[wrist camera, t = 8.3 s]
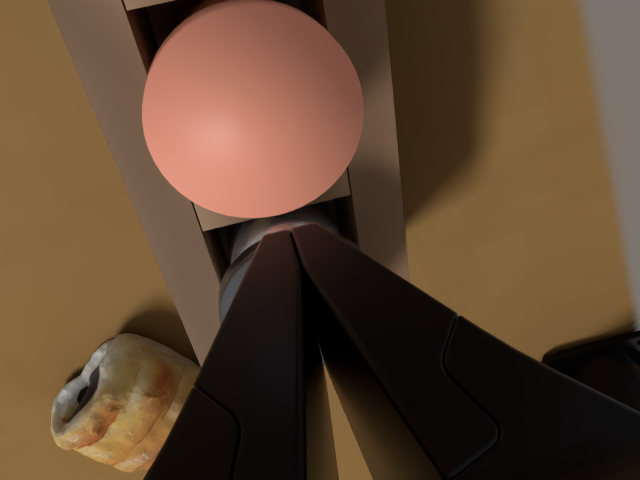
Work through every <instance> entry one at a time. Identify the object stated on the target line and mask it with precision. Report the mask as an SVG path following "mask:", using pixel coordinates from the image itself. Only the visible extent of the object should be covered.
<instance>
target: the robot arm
mask: <svg viewBox="0 0 640 480" xmlns="http://www.w3.org/2000/svg"><path fill="white" fill-rule="evenodd" d="M319 346H320V347H319ZM320 350H321V351H320ZM321 353H322V356H321ZM322 357H323V360H324V363H325V366H326V368H327V371H328V374H329V376H330V379H331V381H332V383H333V386H334V388H335V390H336V393H337V395H338V398H339V400H340V402H341V405H342V407H343V409H344V412H345V414H346V416H347V419H348V421H349V424H350V426H351V428H352V431H353V433H354V435H355V438H356V440H357V442H358V445H359V447H360V450H361V452H362V454H363V457H364V459H365V461H366V464H367V466H368V468H369V471H370V473H371V476H372V478H373V480H640V331H636V332H632V333H629V334H625V335H622V336H618V337H614V338H611V339H607V340H604V341H600V342H596V343H593V344H589V345H586V346H582V347H578V348H575V349H571V350H568V351H564V352H560V353H557V354H553V355H550V356H547V357H545V358H544V359H543V360H542V361H541V362H539V361H537V360H536V359H534V358H532V357H530V356H528V355H526V354H524V353H522V352H520V351H519V350H517V349H515V348H513V347H511V346H510V345H508V344H506V343H505V342H503V341H501V340H500V339H498V338H496V337H495V336H493V335H491V334H490V333H488V332H486V331H485V330H483V329H481V328H480V327H478V326H477V325H475V324H474V323H472V322H471V321H469V320H467V319H466V318H464V317H463V316H458V314H457V313H456V312H455V311H453V310H451V309H450V308H448V307H447V306H445V305H444V304H442V303H441V302H439V301H437V300H436V299H434V298H433V297H431V296H430V295H428V294H427V293H425V292H424V291H422V290H420V289H419V288H417V287H416V286H414V285H413V284H411V283H410V282H408V281H406V280H405V279H403V278H402V277H400V276H399V275H397V274H396V273H394V272H392V271H391V270H389V269H388V268H386V267H385V266H383V265H382V264H380V263H378V262H377V261H375V260H374V259H372V258H371V257H369V256H368V255H366V254H364V253H363V252H361V251H360V250H358V249H357V248H355V247H354V246H352V245H351V244H349V243H347V242H346V241H344V240H343V239H341V238H340V237H338V236H337V235H335V234H333V233H332V232H330V231H329V230H327V229H326V228H324V227H323V226H321V225H319V224H318V223H315V222H313V223H309V224H305V225H301V226H297V227H294V228H292V229H291V234H290V232H289V231H288V230H281V231H277V232H273V233H269V234H265V235H264V236H263V237H262V238H261V240H260V243H259V245H258V247H257V249H256V251H255V253H254V255H253V258H252V260H251V262H250V264H249V266H248V268H247V270H246V273H245V275H244V277H243V279H242V281H241V283H240V285H239V288H238V290H237V292H236V294H235V296H234V298H233V300H232V303H231V305H230V307H229V309H228V311H227V313H226V315H225V318H224V320H223V322H222V324H221V326H220V328H219V330H218V333H217V335H216V337H215V339H214V341H213V343H212V345H211V348H210V350H209V352H208V354H207V356H206V358H205V360H204V362H203V365H202V367H201V369H200V371H199V373H198V375H197V377H196V380H195V382H194V384H193V386H194V387H193V388H191V390H190V392H189V394H188V396H187V398H186V400H185V403H184V405H183V407H182V409H181V411H180V413H179V415H178V417H177V419H176V421H175V423H174V425H173V427H172V429H171V431H170V433H169V435H168V437H167V439H166V441H165V443H164V444H163V446H162V448H161V450H160V451H159V453H158V455H157V456H156V458H155V460H154V462H153V463H152V465H151V467H150V468H149V470H148V472H147V474H146V475H145V477H144V479H143V480H339V477H338V469H337V461H336V454H335V446H334V438H333V431H332V423H331V415H330V407H329V400H328V392H327V384H326V377H325V371H324V365H323V360H322Z"/></svg>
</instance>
